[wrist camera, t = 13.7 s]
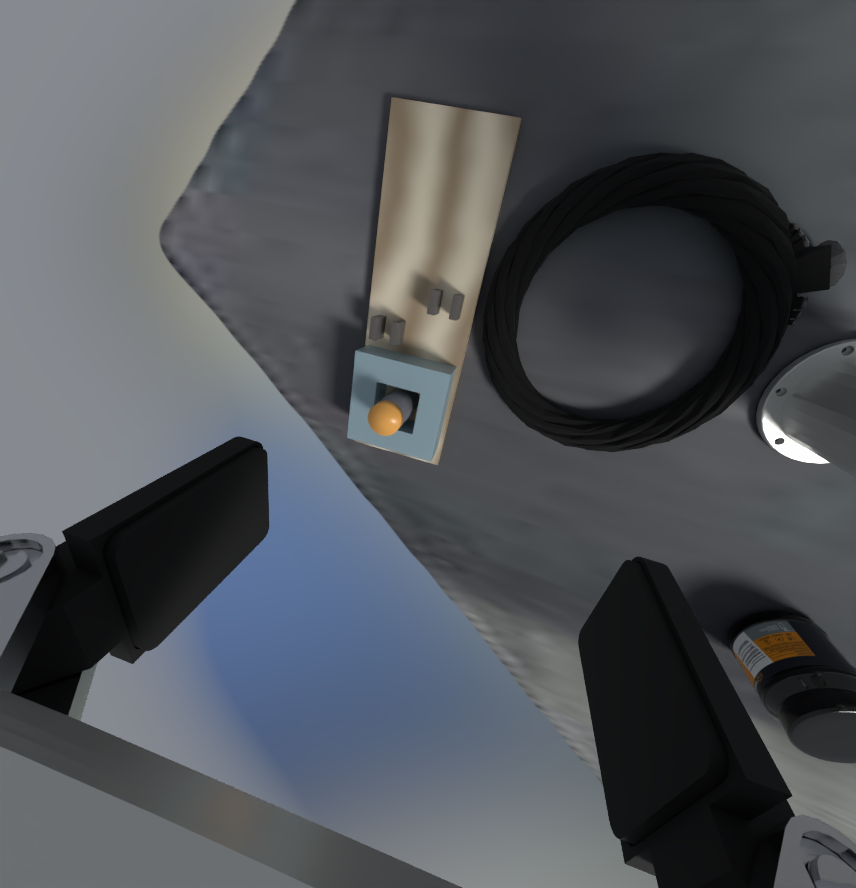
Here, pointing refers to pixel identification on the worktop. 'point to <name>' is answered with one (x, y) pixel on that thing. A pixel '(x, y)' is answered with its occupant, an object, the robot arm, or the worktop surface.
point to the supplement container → (801, 682)
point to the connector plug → (392, 411)
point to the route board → (436, 230)
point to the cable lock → (759, 258)
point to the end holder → (406, 373)
